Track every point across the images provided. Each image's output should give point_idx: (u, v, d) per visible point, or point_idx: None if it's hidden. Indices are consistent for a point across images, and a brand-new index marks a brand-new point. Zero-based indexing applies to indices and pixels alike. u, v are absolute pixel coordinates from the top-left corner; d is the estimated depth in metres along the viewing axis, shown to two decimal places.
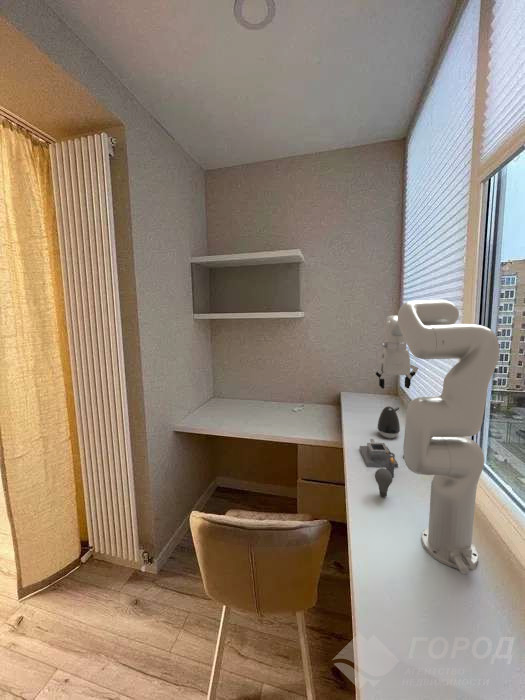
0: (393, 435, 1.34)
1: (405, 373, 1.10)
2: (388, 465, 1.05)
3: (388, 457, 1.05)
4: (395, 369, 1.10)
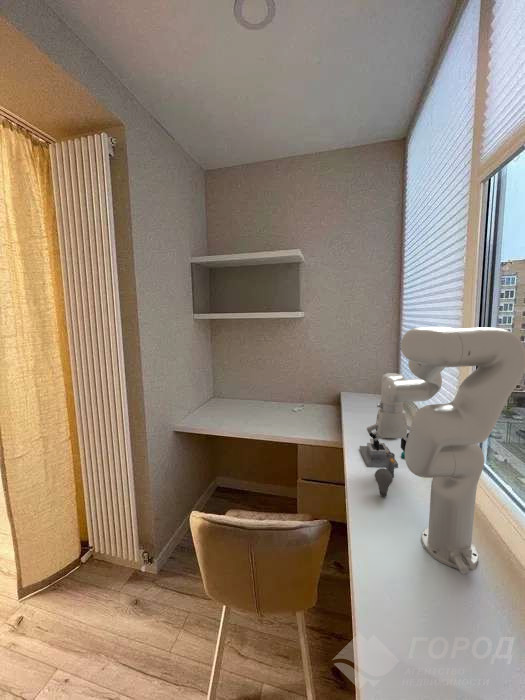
0: None
1: (401, 437, 1.02)
2: (388, 465, 1.05)
3: (388, 457, 1.05)
4: (391, 432, 1.02)
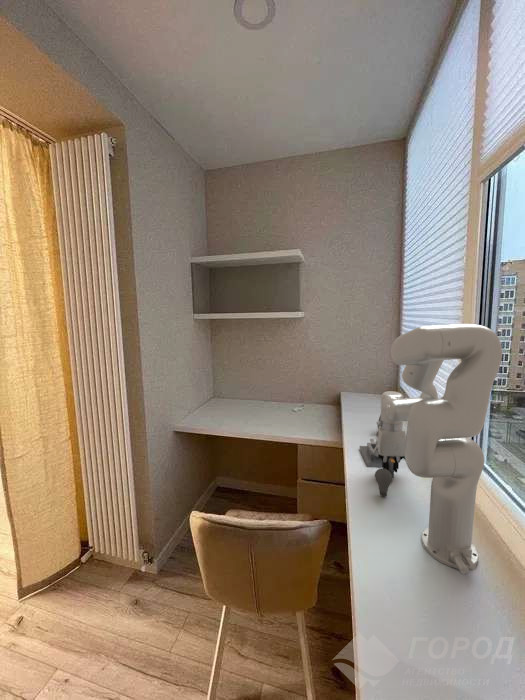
0: None
1: (401, 455, 1.02)
2: (388, 465, 1.05)
3: (388, 457, 1.05)
4: (391, 450, 1.02)
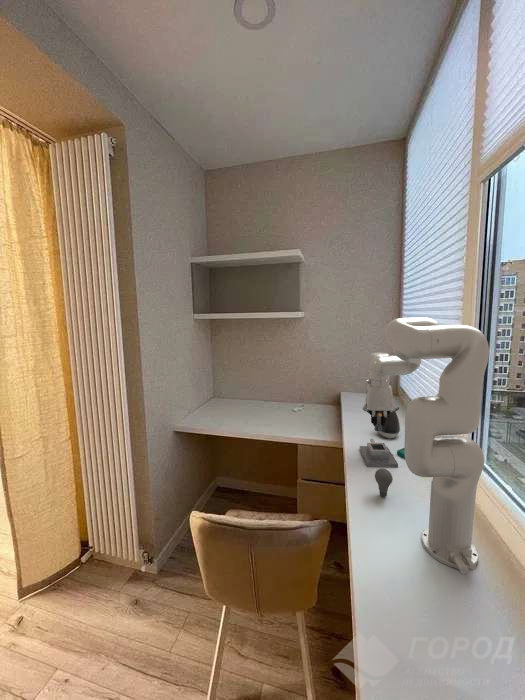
0: (393, 435, 1.34)
1: (388, 409, 1.13)
2: (376, 419, 1.16)
3: (376, 412, 1.16)
4: (378, 405, 1.13)
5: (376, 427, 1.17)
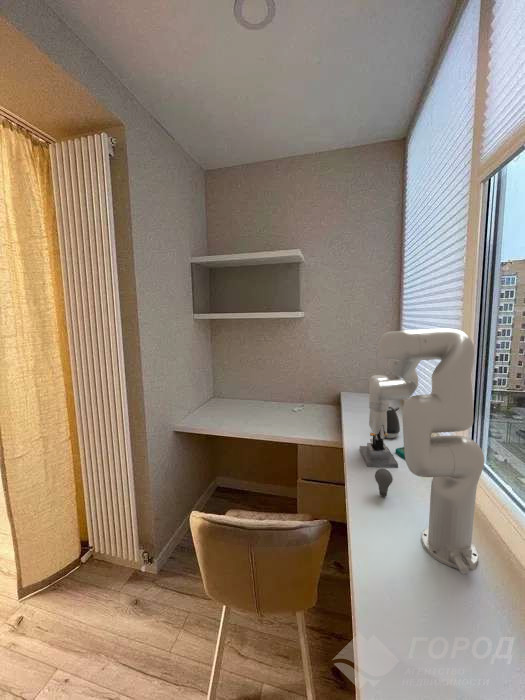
0: (393, 435, 1.34)
1: (373, 431, 1.15)
2: None
3: None
4: (371, 424, 1.18)
5: None
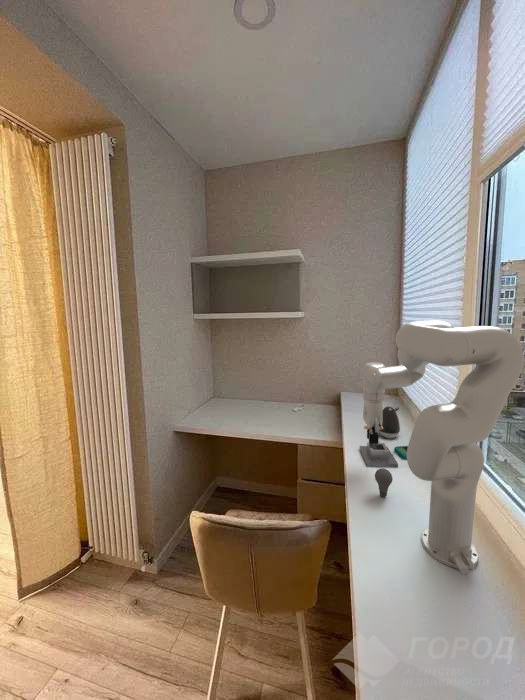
0: (393, 435, 1.34)
1: (367, 425, 1.04)
2: None
3: None
4: (365, 416, 1.07)
5: None
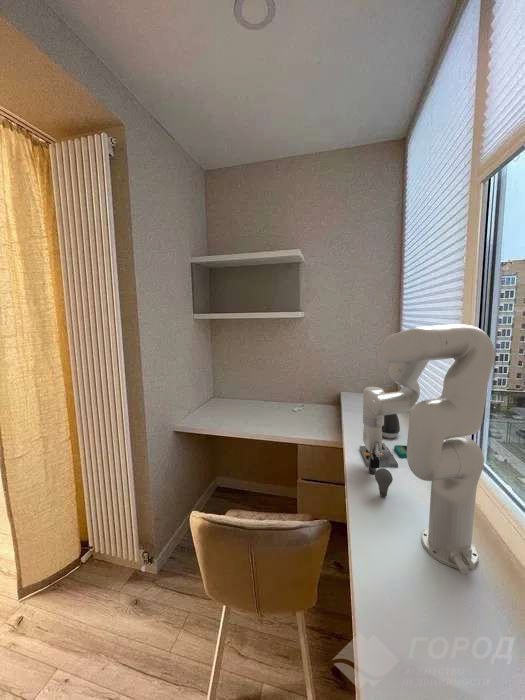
0: (393, 435, 1.34)
1: (367, 448, 1.05)
2: None
3: None
4: (364, 439, 1.09)
5: None
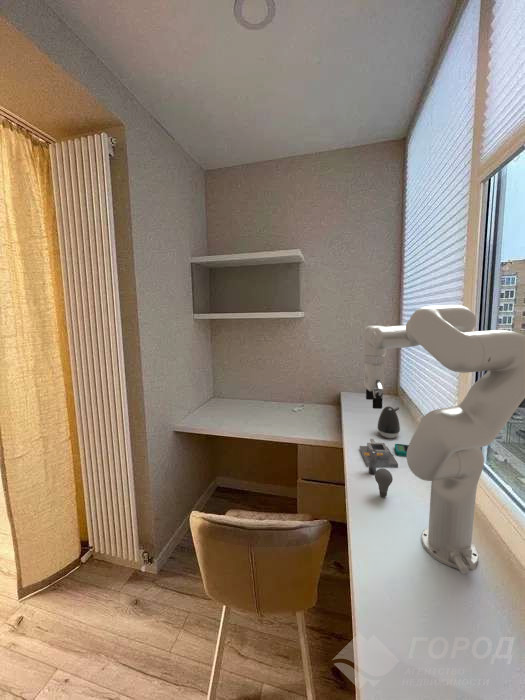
0: (393, 435, 1.34)
1: (368, 389, 1.01)
2: None
3: None
4: (365, 381, 1.05)
5: None
